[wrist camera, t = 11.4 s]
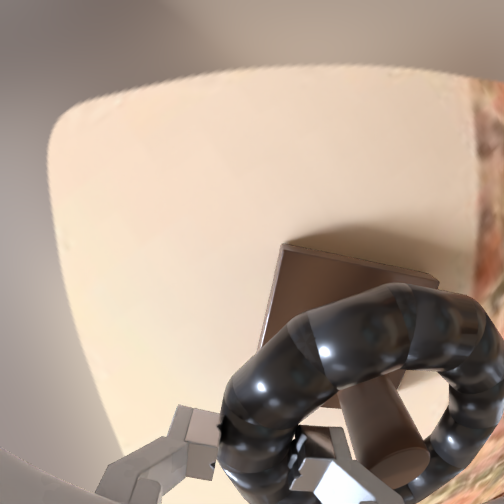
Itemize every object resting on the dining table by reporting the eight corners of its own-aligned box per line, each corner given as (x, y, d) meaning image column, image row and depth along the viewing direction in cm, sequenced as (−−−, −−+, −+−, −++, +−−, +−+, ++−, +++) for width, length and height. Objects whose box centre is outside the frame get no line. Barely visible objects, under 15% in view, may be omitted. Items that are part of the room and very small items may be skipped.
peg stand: (428, 273, 17) (547, 360, 7) (380, 398, 19) (432, 519, 9) (281, 242, 17) (305, 342, 7) (248, 383, 19) (236, 529, 9)
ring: (522, 299, 10) (560, 322, 7) (417, 487, 13) (431, 519, 10) (252, 245, 10) (248, 268, 7) (206, 481, 12) (199, 522, 10)
